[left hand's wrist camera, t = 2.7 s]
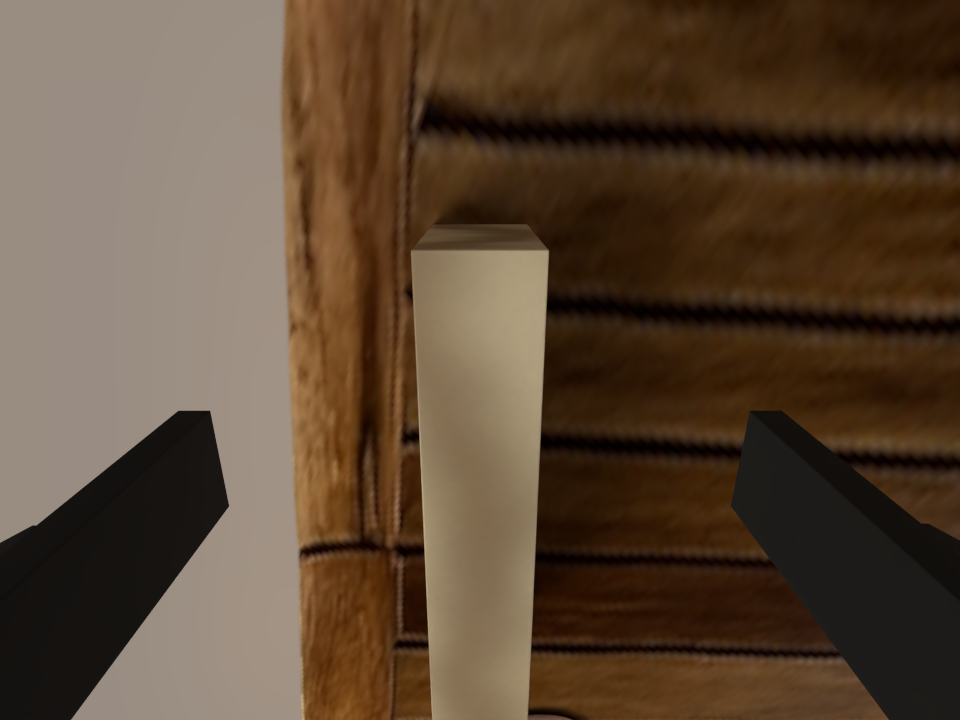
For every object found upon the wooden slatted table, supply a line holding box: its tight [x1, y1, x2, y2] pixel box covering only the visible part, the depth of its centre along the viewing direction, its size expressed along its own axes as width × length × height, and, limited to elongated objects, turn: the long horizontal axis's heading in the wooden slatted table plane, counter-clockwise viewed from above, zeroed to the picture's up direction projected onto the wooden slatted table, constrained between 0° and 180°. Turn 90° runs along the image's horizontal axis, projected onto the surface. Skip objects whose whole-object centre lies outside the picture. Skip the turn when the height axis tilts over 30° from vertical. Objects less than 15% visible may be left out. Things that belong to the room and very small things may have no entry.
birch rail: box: [411, 224, 549, 720], centre depth 27 cm, size 5×26×9 cm, turn 0°
